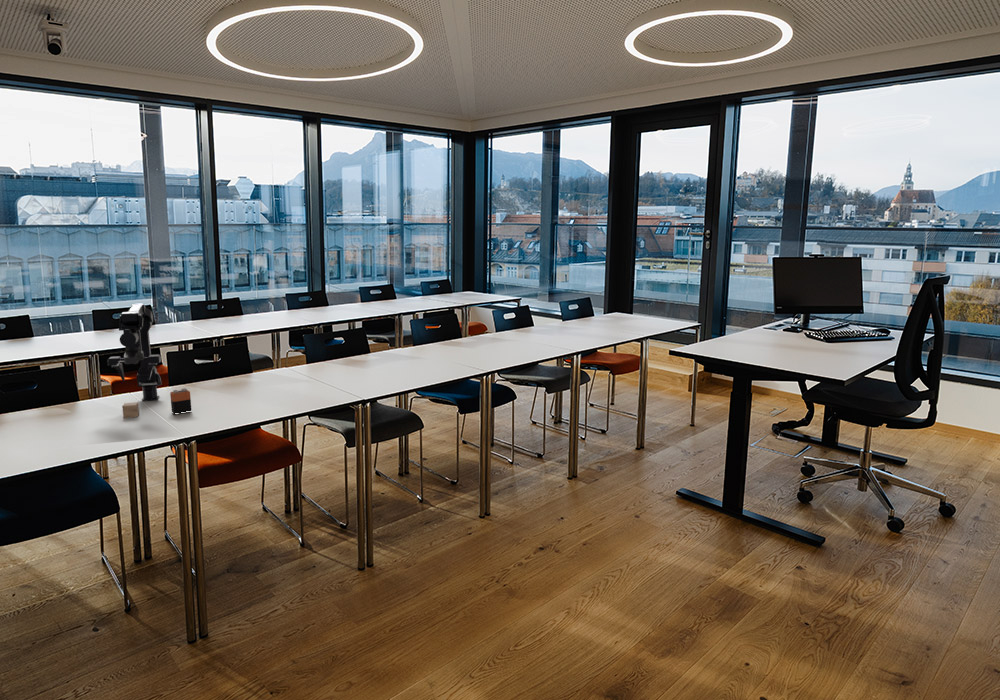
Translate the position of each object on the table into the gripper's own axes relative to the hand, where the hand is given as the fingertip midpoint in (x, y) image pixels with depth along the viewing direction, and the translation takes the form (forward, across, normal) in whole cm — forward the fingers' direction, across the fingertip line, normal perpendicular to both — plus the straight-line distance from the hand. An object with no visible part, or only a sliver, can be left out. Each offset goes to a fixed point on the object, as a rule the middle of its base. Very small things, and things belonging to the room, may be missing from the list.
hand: (136, 380), depth 277 cm
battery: (+15, +16, -1) cm, 22 cm away
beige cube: (+15, -3, 0) cm, 15 cm away
